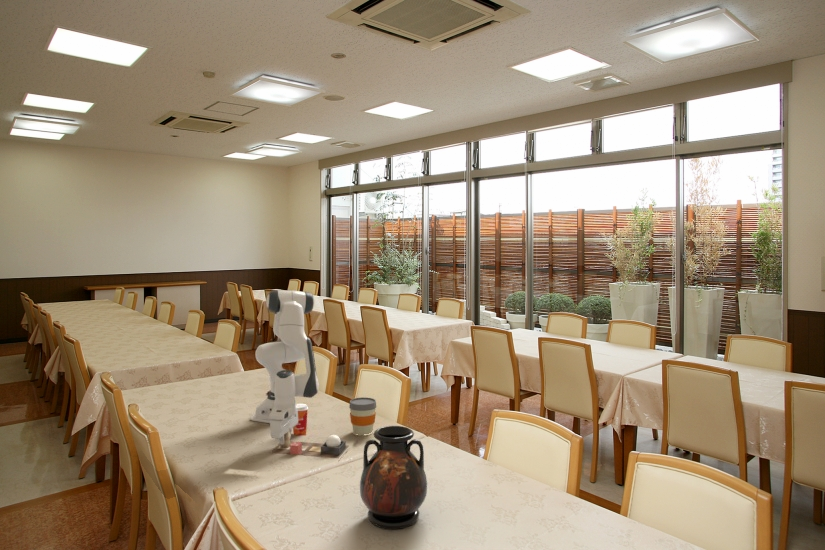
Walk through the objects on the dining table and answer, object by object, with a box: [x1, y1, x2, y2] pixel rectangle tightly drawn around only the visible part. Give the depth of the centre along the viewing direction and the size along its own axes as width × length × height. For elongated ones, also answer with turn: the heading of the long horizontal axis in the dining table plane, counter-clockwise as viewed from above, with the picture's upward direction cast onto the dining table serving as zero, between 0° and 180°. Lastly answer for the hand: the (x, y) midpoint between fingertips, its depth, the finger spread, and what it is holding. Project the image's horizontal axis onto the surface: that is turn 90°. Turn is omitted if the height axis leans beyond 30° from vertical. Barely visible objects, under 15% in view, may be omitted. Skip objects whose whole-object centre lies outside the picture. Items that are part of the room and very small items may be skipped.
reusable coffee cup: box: [348, 396, 377, 435], centre depth 249 cm, size 13×13×15 cm
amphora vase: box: [359, 425, 428, 530], centre depth 170 cm, size 22×22×28 cm
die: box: [289, 441, 302, 456], centre depth 221 cm, size 4×4×4 cm
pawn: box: [279, 429, 291, 448], centre depth 227 cm, size 4×4×9 cm
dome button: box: [325, 434, 342, 448], centre depth 223 cm, size 6×6×6 cm
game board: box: [268, 440, 349, 463], centre depth 225 cm, size 30×14×4 cm, turn 79°
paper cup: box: [292, 403, 309, 436], centre depth 245 cm, size 8×8×14 cm
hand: (285, 441), depth 227 cm, fingers closed on pawn, 4 cm apart
